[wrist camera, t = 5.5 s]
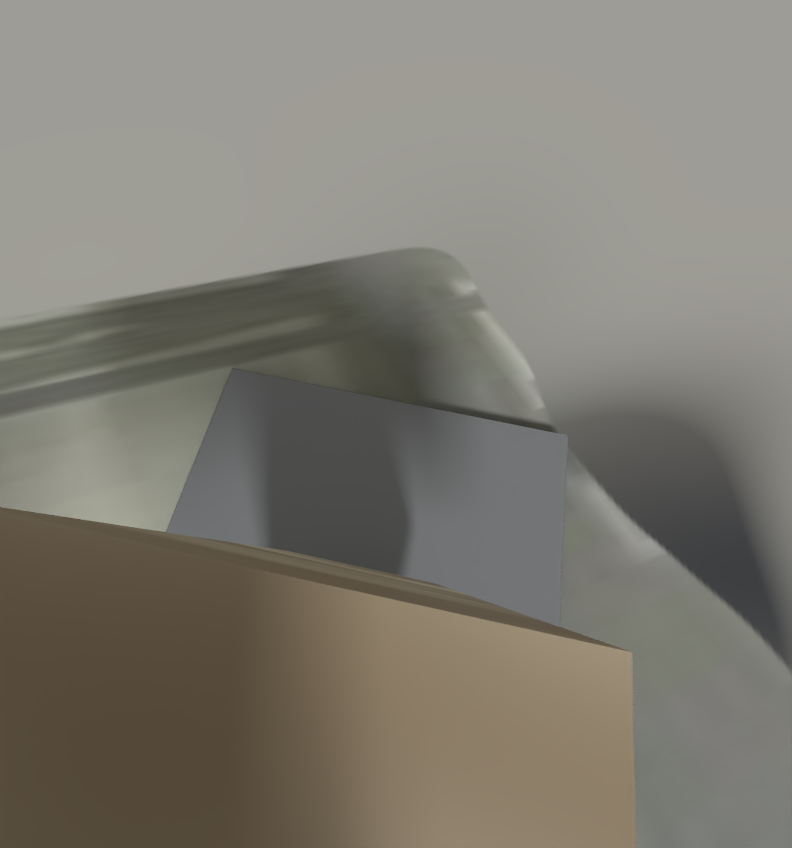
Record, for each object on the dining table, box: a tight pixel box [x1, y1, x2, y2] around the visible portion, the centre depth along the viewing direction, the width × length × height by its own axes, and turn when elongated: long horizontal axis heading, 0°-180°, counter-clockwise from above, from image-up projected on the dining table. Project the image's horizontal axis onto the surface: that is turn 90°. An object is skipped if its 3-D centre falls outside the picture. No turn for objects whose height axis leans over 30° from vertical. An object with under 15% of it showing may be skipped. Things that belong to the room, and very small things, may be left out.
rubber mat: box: [166, 368, 568, 627], centre depth 16 cm, size 22×18×1 cm
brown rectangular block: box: [0, 507, 636, 848], centre depth 8 cm, size 4×6×12 cm, turn 78°
